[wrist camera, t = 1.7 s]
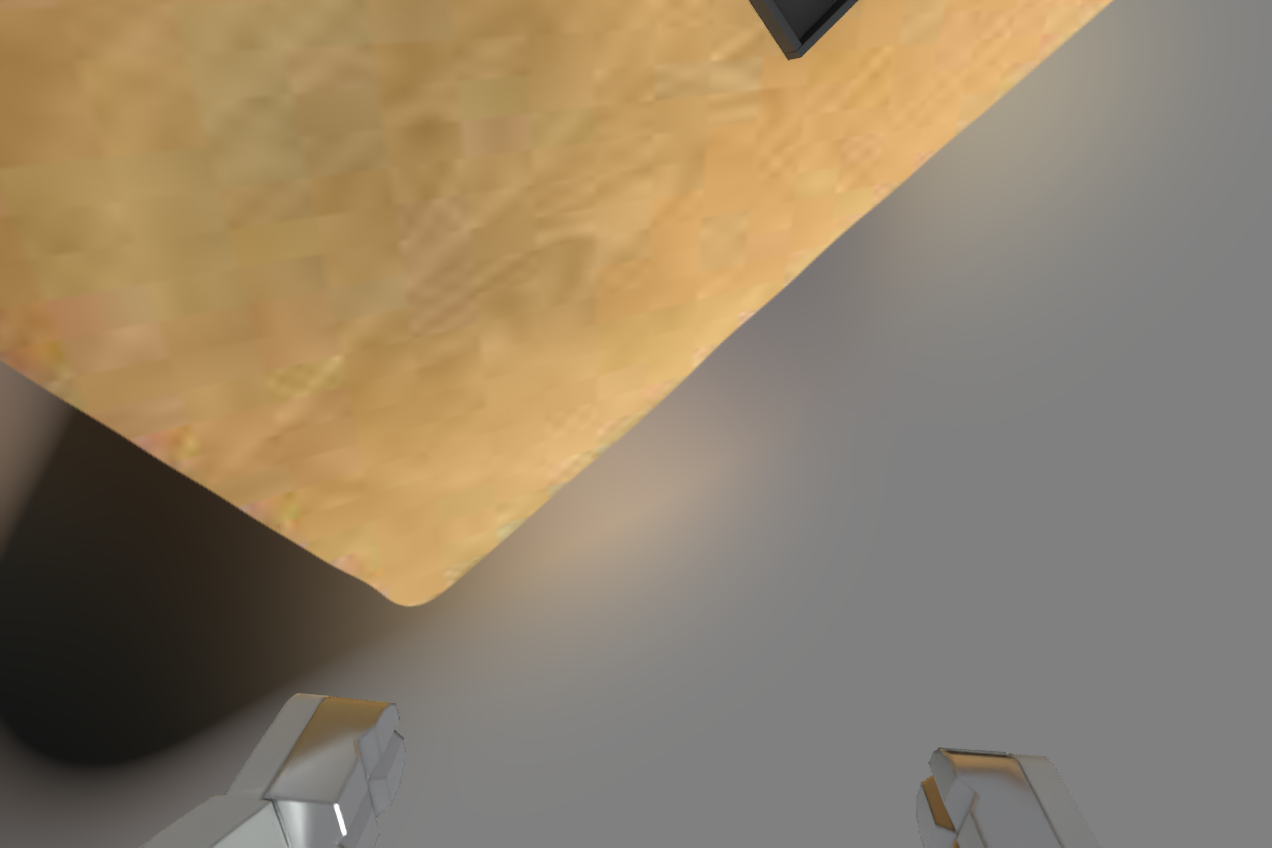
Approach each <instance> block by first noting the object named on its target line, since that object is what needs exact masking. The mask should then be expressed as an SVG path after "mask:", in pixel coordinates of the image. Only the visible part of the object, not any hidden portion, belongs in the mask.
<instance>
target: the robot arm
mask: <svg viewBox="0 0 1272 848" xmlns="http://www.w3.org/2000/svg"><path fill="white" fill-rule="evenodd" d="M399 719H400V717H399V713H398V709H397V705H396V703H386V702H377V701H368V700H359V699H349V698H340V697H331V696H322V695H321V696H320V695H310V694H299V693H296V694H295V695H294V696H293V697H292V698H290V699H289V700H288V701H287V702H286V703H285V704H284V706H283V707H282V709H281V710H280V712H279V713H278V715H277V716H276V718H275V719H274V721H273V722H272V724H271V725H270V727H269V728H268V730H267V731H266V733H265V734H264V736H263V737H262V739H261V740H260V742H259V743H258V745H257V746H256V748H255V749H254V751H253V752H252V754H251V755H250V757H249V758H248V760H247V761H246V763H245V764H244V766H243V767H242V769H241V770H240V772H239V773H238V775H237V776H236V778H235V779H234V781H233V782H232V784H231V785H230V787H229V788H228V790H227V791H226V793H225V794H224V795H223V796H217V795H213V796H211V797H210V798H209V799H207V800H206V801H204V802H203V803H201V804H200V805H198V806H197V807H196V808H194V809H193V810H191V811H190V812H188V813H187V814H186V815H184V816H183V817H181V818H180V819H178V820H177V821H175V822H174V823H173V824H172V825H170V826H168V827H167V828H165V829H164V830H163V831H161V832H160V833H158V834H157V835H155V836H154V837H153V838H151V839H150V840H148V841H147V842H146V843H144V844H142V845H141V846H140V847H138V848H374V847H375V845H376V842H377V839H378V837H379V835H380V834H379V829H378V825H377V821H376V818H377V817H378V816H379V815H380V814H381V813H382V812H383V811H385V810H386V809H387V808H388V807H389V806H391V805H392V803H393V801H394V798H395V796H396V793H397V791H398V788H399V786H400V783H401V778H402V774H403V770H404V765H405V743H404V738H403V737H402V736H401V735H400V734H399V733H398V732H397V731H396V730H395V727H396V725H397V723H398V721H399ZM929 765H930V768H931V770H932V773H933V775H932V776H930V777H929V778H927V779H926V780H924V781H923V782H921V785H920V788H919V791H918V794H917V809H916V817H917V822H918V828H919V833H920V837H921V840H922V843H923V846H924V848H1102V847H1101V846H1100V844H1099V842H1098V840H1097V839H1096V837H1095V835H1094V833H1093V832H1092V830H1091V828H1090V826H1089V825H1088V823H1087V821H1086V819H1085V818H1084V816H1083V814H1082V812H1081V811H1080V809H1079V807H1078V805H1077V804H1076V802H1075V800H1074V798H1073V797H1072V795H1071V793H1070V791H1069V789H1068V788H1067V786H1066V784H1065V782H1064V781H1063V779H1062V778H1061V775H1060V774H1059V772H1058V770H1057V768H1056V767H1055V765H1054V764H1053V763H1052V762H1051V761H1050V760H1049V759H1048V758H1047V757H1045V756H1039V755H1025V754H1007V753H1006V752H998V751H983V750H969V749H954V748H953V749H952V748H938V749H937V750H935V751H934V752H933V754H932V756H931V758H930V761H929Z"/></svg>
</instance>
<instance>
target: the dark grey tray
mask: <svg viewBox="0 0 1272 848" xmlns="http://www.w3.org/2000/svg"><path fill="white" fill-rule="evenodd" d="M749 1H750V2H751V4H752V6H753V7H754V9H755V10H756V12H757V13H758V15H759V16H760V18H761V19H762V21H763V22H764V24H765V25H766V27H767V28H768V30H769V31H770V33H771V34H772V36H773V37H774V39H775V41H776V42H777V44H778V45H779V47H780V48H781V50H782V51H783V53H784V54H785V56H786V57H787V59H788V60H790V59H796V58H801V57H802V56H803V55H804V54H805V53H806V52H807V51H808V50H809V49H810V48H811V47H812V46H813V45H814V44H815V43H816V42H817V41H818V40H819V39H820V38H821V37H822V36H823V35H824V34H825V33H826V32H827V31H828V30H829V29H830V28H831V27H832V26H833V25H834V24H835V23H836V22H837V21H838V20H839V19H840V18H841V17H842V16H843V15H844V14H845V13H846V12H847V11H848V10H849V9H850V8H851V7H852V6H853V5H854V4H855V3H856V2H857V1H858V0H749Z"/></svg>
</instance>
